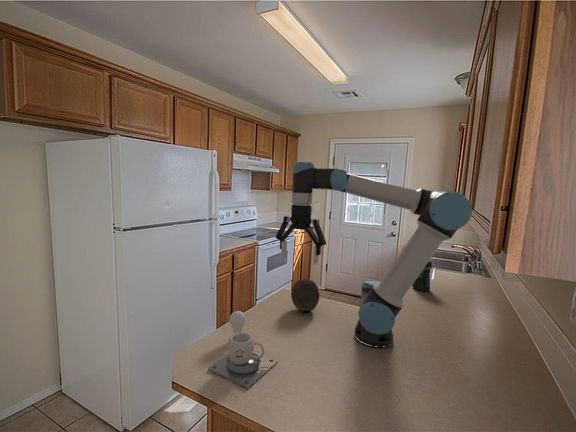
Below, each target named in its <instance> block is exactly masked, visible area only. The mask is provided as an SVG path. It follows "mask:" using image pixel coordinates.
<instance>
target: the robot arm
mask: <svg viewBox="0 0 576 432" xmlns="http://www.w3.org/2000/svg"><path fill="white" fill-rule="evenodd" d="M291 188H292V190H291V191H292V192H291V203H292V204H291V208H290V209H291V210H290V211H291V212H290V213H291V216H289V215H285V216H283V219H282V220H283V221H282V222H281V225H280V227H279V229H278V231H277V233H276V236H275V239H277V240H278V241H279V249H280V251H281V252H280V254H281V255H280V258H281V259H285V258H287V254H288V253H287V251H288V250H287V249H288V247H287V246H288V240H287V238H288V237H289V236H290V235H291V234H292V232H293V231H294V230H300V231H305V232H306V233H307V234H308V236H309V237H310V239H311V240H312V242H313V244H314V245H315V246H313V254H312V255H313V256H312V265H317V264H318V263H319V256H320V255H321V253H322V247H323V246H325V245H327V240H326V238H325V236H324V234H323V231H322V228H321V226H320V219H319V218H312V212H313V211H312V208H313V207H312V204H313V192H314V191H313V190H314V189H315V190H329V191H338V192H342V193H346V194H350V195H354V196H356V197H360V198H364V199H368V200H372V201H376V202H378V203H382V204H386V205H390V206H393V207H397V208H402V209H404V210H409V211H410V212H411V214H413V215H417V216H418V218H417V219H416V220H417V221H416V222H417V228H416V230H415V231H414V232H413V234H412V235H411V237H410V238H409V240H408V241H407V243H406V245H405V246H404V247H403V249H402V250H401V251H400V254H398V256H397V258H396V259H395V260H394V262H393V263H392V265H391V267H390V268H389V270H388V271H387V273H386V274H385V276H384V277H383V278H382V280H381V281H377V280H364V281H363V282H362V285H361V287H360V288H361V295H360V296H361V297H360V302H359V303H360V304H359V309H358V321H357V323H356V325H355V326H354V327H355V328H354V333H355V336H356V337H357V338H358V339H359V340H360V341H362V342H364V343H366V344H369V345H372V346H378V347H383V346H388V345H390V344H392V343H393V344H394V333H393V328H394V327H395V324H396V317H397V316H398V314H399V313H400V311H401V310H402V309H403V307H404V302H403V299H404V297H405V296H406V294H407V293H408V291H409V290H410V289H411V288H412V284H413V283H414V282H415V280H416V279H417V277H418V276H419V274H420V273H421V272H422V270H423V269H424V267H425V266H426V264H427V263H428V262H429V261H431V258H432V257H433V256H434V254H435V253H436V251H437V250H438V249H439V247H440V246H441V244H442V243H443V242H444V241H448V240H451V239H452V238H453V237H454V235H455V234H456V232H457V231H458V230H459V229H462V228H463V227H465V226H466V225H467V224H468V223H469V221H470V220H471V218H472V214H473V209H472V204H471V202H470V200H469V199H468V198H467V197H466V196H465V195H463V194H462V193H460V192H456V191H455V190H428V189H423V188H419V189H417V190H416V189H411V188H410V187H409V188H408V187H404V186H400V185H396V184H391V183H387V182H383V181H381V180H380V181H379V180H375V179H371V178H367V177H365V176H364V177H363V176H360V175H356V174H355V175H354V174H351V173H348V171H347V170H346V169H345V168H338V167H336V168H332V167H331V168H322V167H319V168H318V167H315V164H314V162H310V161H296V162H295V163H294V164H293V171H292V187H291ZM290 222H291V224H290V225H289V223H290ZM311 224H312V226H313V228H314V230H313V228H312V226H311ZM288 225H289V226H288ZM287 227H288V228H287ZM286 229H287V230H286ZM314 231H315V232H314ZM354 333H353V334H354ZM355 336H354V337H355ZM393 344H392V345H393Z"/></svg>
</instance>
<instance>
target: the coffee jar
mask: <svg viewBox="0 0 576 432" xmlns="http://www.w3.org/2000/svg"><path fill="white" fill-rule="evenodd" d="M432 268H433V264H432V261H431V260H429V262H428V263H427V264H426V266H425V267H424V269H423V270H422V272H421V273H420V274H419V276H418V277H417V279H416V280H415V282H414V283H413V284H412V286H411V288H412V289H414V290H417V291H420V292H429V291H430V290H431V270H432Z"/></svg>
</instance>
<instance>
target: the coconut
mask: <svg viewBox="0 0 576 432" xmlns="http://www.w3.org/2000/svg"><path fill="white" fill-rule="evenodd" d="M290 295H291V296H290V297H291V301H292V304H293V305H294V307H295V308H296V309H298V311H300V310H301V311H300V312H302V311H310V312H312V311H314V310H315V309H316V307H317V305H319V301H320V291H319V286H318V284H317V283H316V282H315V281H314V280H313V279H309V278H308V279H306V278H304V279H303V278H302V279H299V280H297V281H296V282H294V284H293V286H292V288H291V292H290Z"/></svg>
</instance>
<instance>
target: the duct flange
mask: <svg viewBox="0 0 576 432" xmlns="http://www.w3.org/2000/svg"><path fill="white" fill-rule="evenodd" d="M252 355H254V356H256V357H259V356H258V355H257V354H255V353H253V354H252ZM269 361H270V362H273V360H269ZM260 363H261V360H260V359H254V358H253V357H251V359H250V360H249V361H248V362H247V363H246V364H242V365H237V364H234V363H233V362H232V361H231V360H230V358H229V355H228V354H226V355H225V356H223V357H222V358H220V359H219V360H218V361H215V363H213V364H212V365H210V366H209V367H207V371H208V370H210V371H212V372H214V373H216V374H218V375H220V376H222V377H224V378H225V379H224V378H223V379H224V380H226V379H228V380H230V381H229V382H231V381H232V382H231V383H233V382H234V383H233V384H235V383H236V384H235V385H237V384H238V385H237V386H239V385H240V386H239V387H241V386H242V387H241V388H243V387H244V388H243V389H245V388H246V389H245V390H247V389H248V388H249V387H250V386H251V385H252V384H253V383H254V382H255V381H256V380H257V379H258V378H259V377H260V376H261V375H262V374H263V373H264V372H265V371H266V370H260V368H262V369H263V368H267V369H268V367H261V366H260ZM270 367H271V366H270ZM210 371H209V372H210ZM212 372H211V373H212ZM214 373H213V374H214ZM216 374H215V375H216ZM218 375H217V376H218ZM220 376H219V377H220ZM222 377H221V378H222ZM228 380H227V381H228ZM254 384H255V383H254ZM254 384H253V385H254ZM253 385H252V386H253ZM252 386H251V387H252ZM251 387H250V388H251ZM250 388H249V389H250ZM249 389H248V390H249Z"/></svg>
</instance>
